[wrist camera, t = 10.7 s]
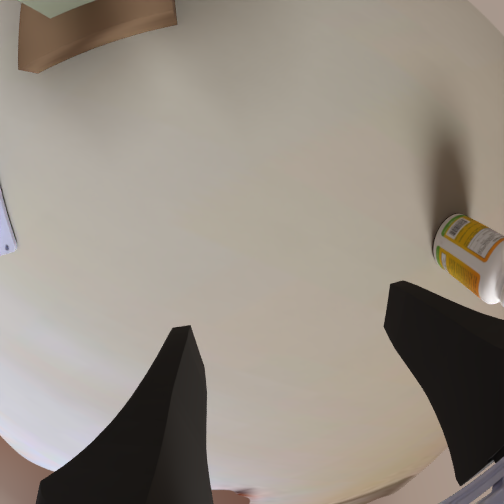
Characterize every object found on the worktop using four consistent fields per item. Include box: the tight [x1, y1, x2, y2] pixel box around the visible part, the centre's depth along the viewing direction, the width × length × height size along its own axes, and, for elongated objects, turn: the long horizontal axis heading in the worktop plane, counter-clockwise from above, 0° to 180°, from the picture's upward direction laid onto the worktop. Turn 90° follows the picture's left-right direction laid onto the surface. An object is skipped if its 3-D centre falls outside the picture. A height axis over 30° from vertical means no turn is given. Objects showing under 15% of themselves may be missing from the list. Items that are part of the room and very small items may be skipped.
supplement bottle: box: [433, 214, 504, 307], centre depth 18 cm, size 5×5×10 cm
